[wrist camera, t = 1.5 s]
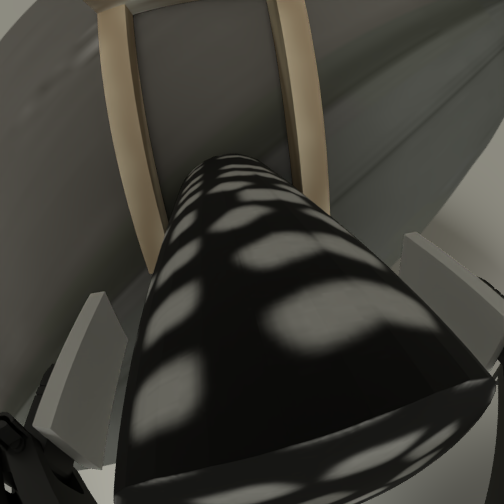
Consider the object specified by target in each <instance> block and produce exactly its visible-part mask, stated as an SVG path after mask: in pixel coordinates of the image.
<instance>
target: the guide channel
mask: <svg viewBox="0 0 504 504" xmlns="http://www.w3.org/2000/svg"><path fill="white" fill-rule="evenodd" d="M83 1H84V2H85V3H86V4H87V5H89V6H90V7H91V8H92V9H93V10H94V11H95V12H96V13H97V16H98V35H99V48H100V59H101V69H102V77H103V85H104V92H105V99H106V105H107V111H108V117H109V123H110V128H111V133H112V139H113V144H114V148H115V153H116V158H117V162H118V166H119V171H120V175H121V179H122V183H123V187H124V191H125V195H126V199H127V202H128V206H129V210H130V213H131V217H132V220H133V224H134V227H135V230H136V234H137V237H138V240H139V244H140V247H141V250H142V253H143V256H144V259H145V262H146V265H147V268H148V271H149V274H152V273H153V272H154V269H155V265H156V262H157V258H158V255H159V252H160V249H161V245H162V242H163V239H164V236H165V233H166V230H167V227H168V224H169V222H168V218H167V214H166V210H165V206H164V201H163V197H162V193H161V189H160V184H159V180H158V175H157V171H156V166H155V162H154V157H153V152H152V147H151V142H150V137H149V131H148V126H147V120H146V115H145V109H144V103H143V97H142V90H141V84H140V77H139V69H138V62H137V53H136V45H135V35H134V25H133V15H135V14H138V13H142V12H146V11H149V10H153V9H157V8H162V7H166V6H171V5H175V4H180V3H186V2H192V1H198V0H83ZM266 1H267V6H268V11H269V16H270V22H271V27H272V33H273V39H274V45H275V51H276V57H277V63H278V70H279V76H280V83H281V90H282V97H283V105H284V112H285V120H286V128H287V136H288V145H289V154H290V163H291V172H292V182H293V186H294V187H295V188H296V189H297V190H299V191H300V192H301V193H302V194H304V195H305V196H306V197H308V198H309V199H310V200H311V201H313V202H314V203H315V204H316V205H317V206H319V207H320V208H321V209H322V210H324V211H325V212H326V213H327V214H328V215H330V201H329V181H328V166H327V152H326V141H325V130H324V120H323V111H322V102H321V94H320V87H319V79H318V72H317V66H316V59H315V53H314V47H313V41H312V36H311V30H310V25H309V20H308V15H307V10H306V6H305V1H304V0H266Z"/></svg>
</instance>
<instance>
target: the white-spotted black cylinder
mask: <svg viewBox="0 0 504 504" xmlns="http://www.w3.org/2000/svg"><path fill="white" fill-rule="evenodd" d="M495 391H496V381H495V380H494V379H493V377H492V376H491V375H490V374H489V373H488V371H487V370H486V369H485V368H484V366H483V365H482V364H481V363H480V362H479V361H478V359H477V358H476V357H475V356H474V355H473V354H472V352H471V351H470V350H469V349H468V348H467V347H466V346H465V344H464V343H463V342H462V341H461V340H460V339H459V338H458V337H457V336H456V335H455V333H454V332H453V331H452V330H451V329H450V328H449V327H448V326H447V325H446V324H445V323H444V322H443V321H442V319H441V318H440V317H439V316H438V315H437V314H436V313H435V312H434V311H433V310H432V309H431V308H430V307H429V306H428V305H427V304H426V303H425V302H424V301H423V300H422V299H421V298H420V297H419V296H418V295H417V294H416V293H415V292H414V291H413V290H412V289H411V288H410V287H409V286H408V285H407V284H406V283H405V282H404V281H403V280H402V279H401V278H400V277H398V276H397V275H396V274H395V273H394V272H393V271H392V270H391V269H390V268H389V267H388V266H387V265H386V264H385V263H383V262H382V261H381V260H380V259H379V258H378V257H377V256H376V255H375V254H374V253H373V252H371V251H370V250H369V249H368V248H367V247H366V246H365V245H364V244H362V243H361V242H360V241H359V240H358V239H357V238H356V237H354V236H353V235H352V234H351V233H350V232H349V231H347V230H346V229H345V228H344V227H343V226H342V225H340V224H339V223H338V222H337V221H336V220H334V219H333V218H332V217H331V216H330V215H328V214H327V213H326V212H325V211H324V210H322V209H321V208H320V207H319V206H317V205H316V204H315V203H314V202H313V201H311V200H310V199H309V198H308V197H306V196H305V195H304V194H302V193H301V192H300V191H299V190H297V189H296V188H295V187H294V186H292V185H291V184H290V183H288V182H287V181H286V180H284V179H283V178H282V177H280V176H279V175H278V174H277V173H275V172H274V171H273V170H271V169H270V168H268V167H267V166H266V165H264V164H263V163H261V162H260V161H258V160H256V159H254V158H251V157H249V156H245V155H240V154H224V155H219V156H215V157H212V158H210V159H208V160H206V161H204V162H202V163H201V164H200V165H198V166H197V167H195V168H194V169H193V170H192V172H191V173H190V174H189V175H188V176H187V178H186V179H185V181H184V183H183V184H182V186H181V189H180V192H179V195H178V197H177V200H176V203H175V206H174V209H173V212H172V215H171V218H170V221H169V224H168V227H167V230H166V233H165V236H164V239H163V242H162V245H161V249H160V252H159V255H158V258H157V262H156V265H155V269H154V272H153V276H152V279H151V283H150V286H149V290H148V294H147V297H146V301H145V305H144V309H143V313H142V317H141V321H140V325H139V329H138V334H137V338H136V343H135V347H134V352H133V356H132V361H131V366H130V371H129V377H128V382H127V387H126V393H125V399H124V405H123V411H122V418H121V425H120V432H119V440H118V449H117V458H116V469H115V481H114V504H361V503H363V502H365V501H368V500H370V499H372V498H374V497H376V496H379V495H380V494H383V493H385V492H386V491H388V490H390V489H392V488H394V487H396V486H398V485H399V484H401V483H403V482H404V481H406V480H408V479H409V478H411V477H413V476H414V475H416V474H417V473H419V472H420V471H422V470H423V469H425V468H426V467H427V466H429V465H430V464H432V463H433V462H434V461H436V460H437V459H438V458H440V457H441V456H442V455H443V454H444V453H446V452H447V451H448V450H449V449H450V448H452V447H453V446H454V445H455V444H456V443H457V442H458V441H459V440H460V439H461V438H462V437H463V436H464V435H465V434H466V433H467V432H468V431H469V430H470V429H471V428H472V427H473V426H474V425H475V423H476V422H477V421H478V420H479V419H480V417H481V416H482V415H483V413H484V412H485V410H486V409H487V407H488V406H489V404H490V403H491V400H492V398H493V396H494V394H495Z"/></svg>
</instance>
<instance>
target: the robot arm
mask: <svg viewBox="0 0 504 504" xmlns="http://www.w3.org/2000/svg"><path fill="white" fill-rule="evenodd" d="M399 277H400V278H401V279H402V280H403V281H404V282H405V283H406V284H407V285H408V286H409V287H410V288H411V289H412V290H413V291H414V292H415V293H416V294H417V295H418V296H419V297H420V298H421V299H422V300H423V301H424V302H425V303H426V304H427V305H428V306H429V307H430V308H431V309H432V310H433V311H434V312H435V313H436V314H437V315H438V316H439V317H440V318H441V319H442V321H443V322H444V323H445V324H446V325H447V326H448V327H449V328H450V329H451V330H452V331H453V332H454V333H455V335H456V336H457V337H458V338H459V339H460V340H461V341H462V342H463V343H464V344H465V346H466V347H467V348H468V349H469V350H470V351H471V352H472V354H473V355H474V356H475V357H476V358H477V359H478V361H479V362H480V363H481V364H482V365H483V366H484V368H485V369H486V370H487V371H488V372H489V371H491V369H492V368H493V366H494V364H495V362H496V361H497V359H498V360H499V361H500V363H501V364H500V366H499V367H498V369H497V370H496V372H495V373H494V375H493V379H494V380H495V379H496V377H497V376H498V379H497V381H496V385H498V425H497V437H496V446H495V454H494V461H493V467H492V473H491V478H490V484H489V488H488V492H487V497H486V500H485V504H504V296H503V295H501V293H500V292H499V291H498V290H497V289H494V287H493V286H492V285H491V284H489V283H488V282H487V281H486V280H483V279H482V278H480V277H477V276H476V275H474V274H473V273H472V272H471V271H469V270H468V269H467V268H466V267H464V266H463V265H462V264H460V263H459V262H458V261H456V260H455V259H454V258H452V257H451V256H450V255H448V254H447V253H446V252H444V251H443V250H441V249H440V248H439V247H437V246H436V245H435V244H433V243H432V242H430V241H429V240H428V239H426V238H425V237H423V236H422V235H420V234H419V233H417V232H412V233H407V234H404V237H403V246H402V255H401V263H400V270H399ZM127 343H128V338H127V336H126V334H125V332H124V330H123V329H122V327H121V325H120V323H119V321H118V318H117V316H116V314H115V312H114V310H113V308H112V306H111V304H110V302H109V299H108V297H107V295H106V293H105V291H103V292H98V293H92V294H90V295H89V297H88V299H87V300H86V302H85V304H84V306H83V308H82V310H81V312H80V314H79V316H78V318H77V319H76V321H75V323H74V325H73V327H72V329H71V331H70V334H69V336H68V338H67V340H66V342H65V344H64V346H63V348H62V350H61V353H60V355H59V357H58V359H57V362H56V364H52V365H51V366H50V367H49V369H48V370H47V371H46V372H45V374H44V376H43V378H42V380H41V383H40V387H39V388H38V390H37V392H36V394H37V396H35V398H34V400H33V403H32V405H31V408H30V411H29V414H28V417H27V419H26V422H25V425H24V427H23V426H22V425H21V424H20V423H19V422H18V421H17V420H16V419H15V418H14V417H13V416H12V415H10V414H9V413H7V412H2V413H0V504H97V502H96V501H95V499H94V498H93V496H92V495H91V493H90V491H89V490H88V489H87V487H86V485H85V483H84V481H83V480H82V478H81V476H80V475H79V473H78V471H77V470H76V469H75V468H74V467H73V463H74V461H76V462H77V463H79V464H80V465H81V466H83V467H85V468H92V469H99V470H102V466H103V459H104V452H105V445H106V439H107V433H108V427H109V422H110V416H111V411H112V406H113V401H114V397H115V392H116V387H117V383H118V379H119V374H120V370H121V366H122V362H123V358H124V354H125V350H126V346H127ZM4 483H5V484H7V485H8V486H10V487H12V493H9V492H8V491H6V490H5V488H4Z"/></svg>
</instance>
